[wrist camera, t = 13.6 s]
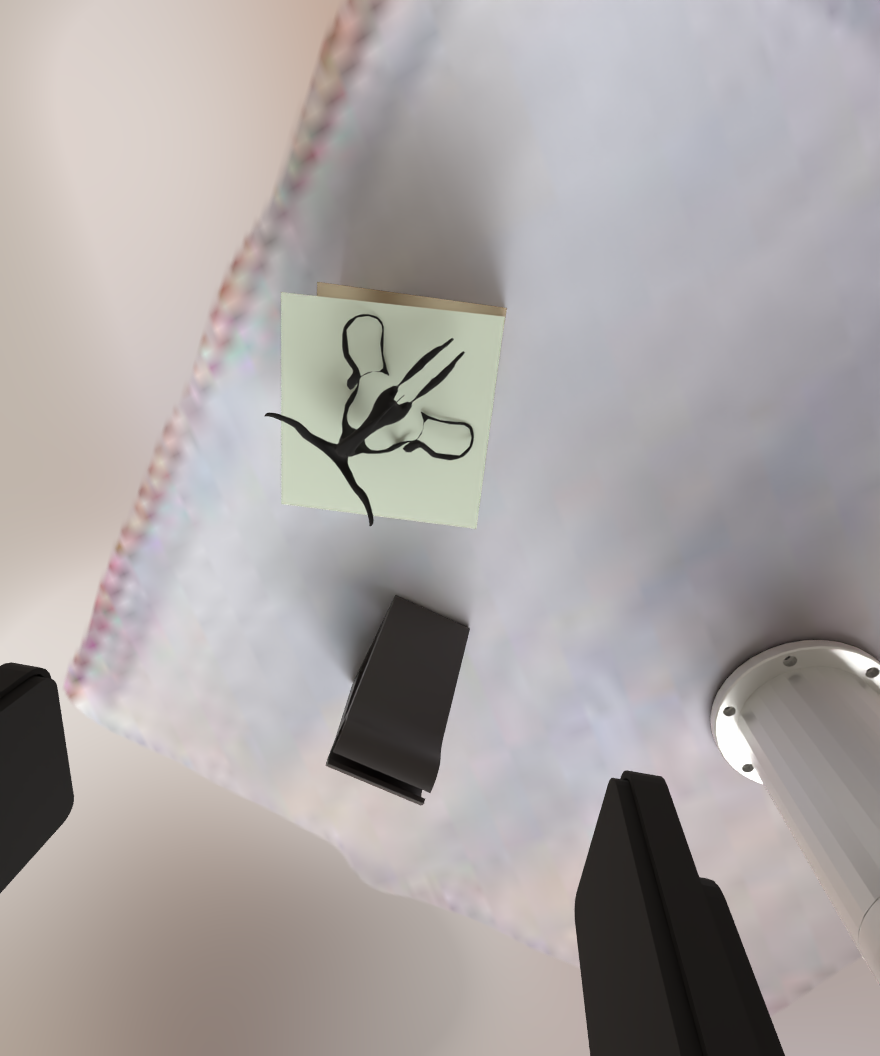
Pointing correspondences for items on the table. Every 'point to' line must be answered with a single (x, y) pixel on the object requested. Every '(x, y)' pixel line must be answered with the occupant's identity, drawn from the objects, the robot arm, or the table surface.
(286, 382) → the tower top
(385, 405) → the creature
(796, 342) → the table surface
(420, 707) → the phone stand
